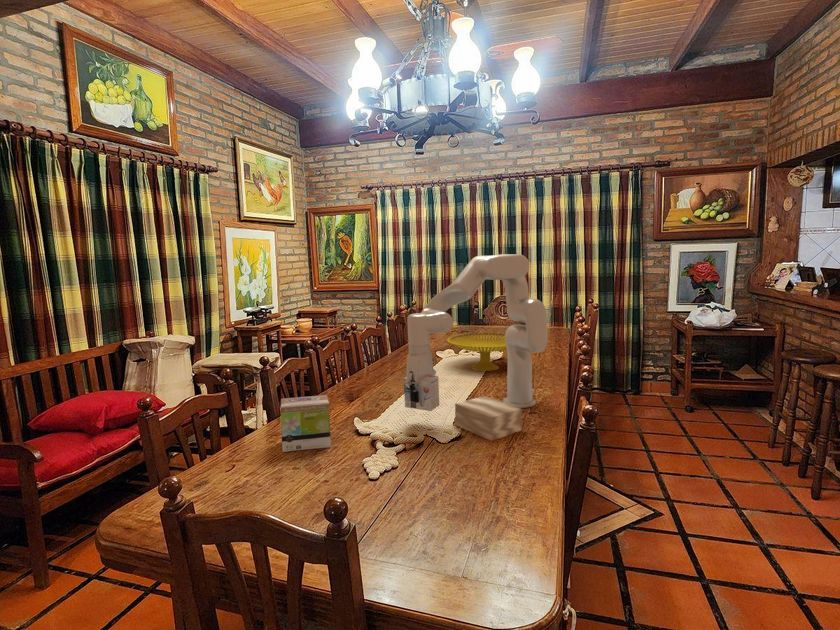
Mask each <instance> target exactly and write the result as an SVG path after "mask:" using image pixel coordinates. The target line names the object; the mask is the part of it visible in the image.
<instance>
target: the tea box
mask: <svg viewBox="0 0 840 630" xmlns="http://www.w3.org/2000/svg"><path fill="white" fill-rule="evenodd" d="M330 405H331V404H330V402H329V397H328V394H324V395H323V394H322V395H312V396H311V395H310V396H299V397H287V398H285V397H284V398H281V399H280V430H281V434H280V435H281V448H282V449H281V450H282V453H287V452H295V451H303V450H304V451H305V450H314V449H327V448H331V446H332V445H331V444H332V441H331V439H332V438H331V414H330V413H331V411H330V410H331V409H330Z"/></svg>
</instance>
